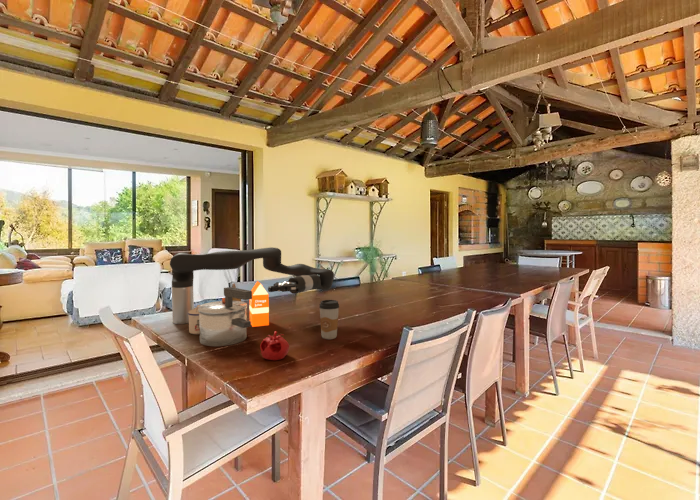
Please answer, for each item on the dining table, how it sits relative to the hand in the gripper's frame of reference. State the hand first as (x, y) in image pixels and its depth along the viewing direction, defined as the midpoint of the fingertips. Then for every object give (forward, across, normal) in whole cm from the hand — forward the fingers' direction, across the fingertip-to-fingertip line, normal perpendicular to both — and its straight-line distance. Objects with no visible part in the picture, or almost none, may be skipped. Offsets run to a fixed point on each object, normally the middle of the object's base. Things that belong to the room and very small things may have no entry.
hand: (269, 289), depth 142 cm
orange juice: (-10, -21, +20) cm, 31 cm away
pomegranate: (+12, +19, +20) cm, 30 cm away
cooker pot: (+13, -9, +20) cm, 26 cm away
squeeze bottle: (-6, -36, +20) cm, 42 cm away
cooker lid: (+13, -9, +8) cm, 18 cm away
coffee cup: (-17, +18, +21) cm, 32 cm away
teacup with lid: (+13, -30, +20) cm, 39 cm away
